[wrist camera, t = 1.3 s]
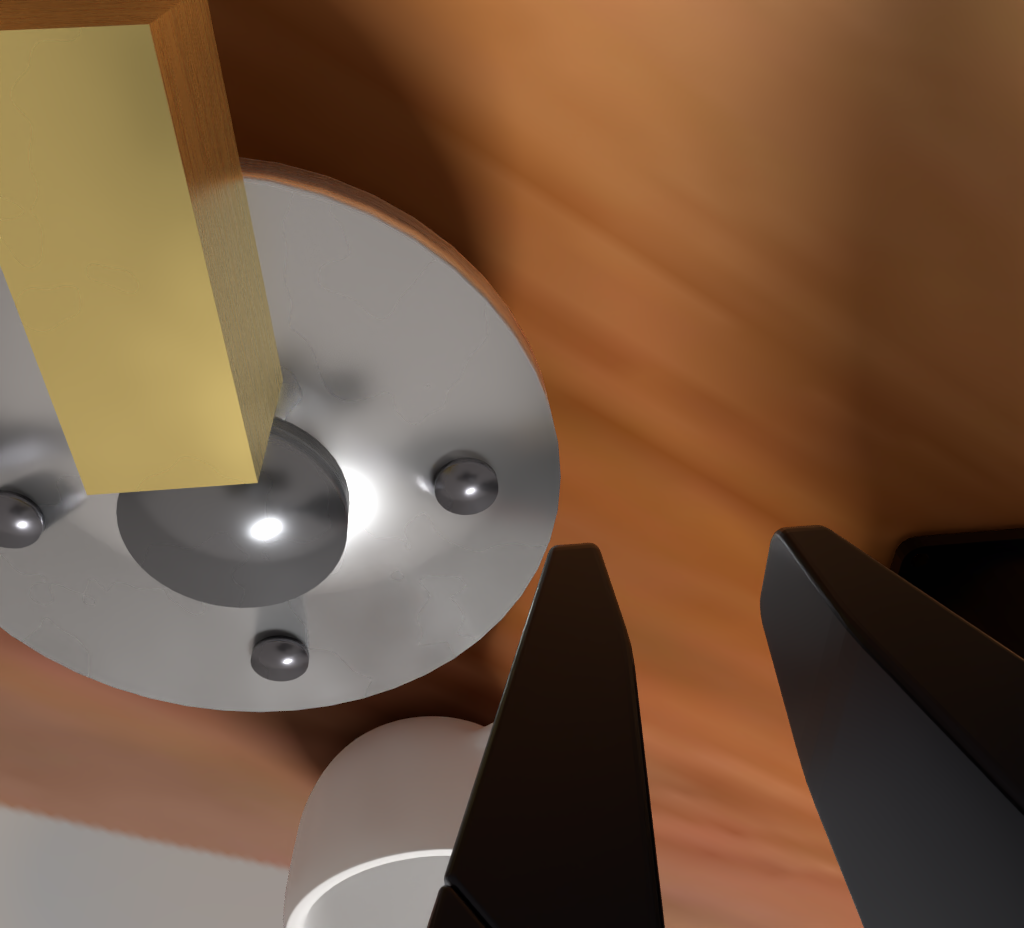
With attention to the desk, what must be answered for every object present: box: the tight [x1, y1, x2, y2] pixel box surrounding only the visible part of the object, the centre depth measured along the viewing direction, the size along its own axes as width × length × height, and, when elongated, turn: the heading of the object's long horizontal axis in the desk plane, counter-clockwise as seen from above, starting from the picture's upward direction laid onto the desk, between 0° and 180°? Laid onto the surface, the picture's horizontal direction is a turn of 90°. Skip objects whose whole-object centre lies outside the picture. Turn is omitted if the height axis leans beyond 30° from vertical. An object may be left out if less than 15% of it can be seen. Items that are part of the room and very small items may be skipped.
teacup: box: [283, 716, 494, 928], centre depth 26 cm, size 10×8×5 cm
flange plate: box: [0, 0, 561, 712], centre depth 15 cm, size 14×12×4 cm
